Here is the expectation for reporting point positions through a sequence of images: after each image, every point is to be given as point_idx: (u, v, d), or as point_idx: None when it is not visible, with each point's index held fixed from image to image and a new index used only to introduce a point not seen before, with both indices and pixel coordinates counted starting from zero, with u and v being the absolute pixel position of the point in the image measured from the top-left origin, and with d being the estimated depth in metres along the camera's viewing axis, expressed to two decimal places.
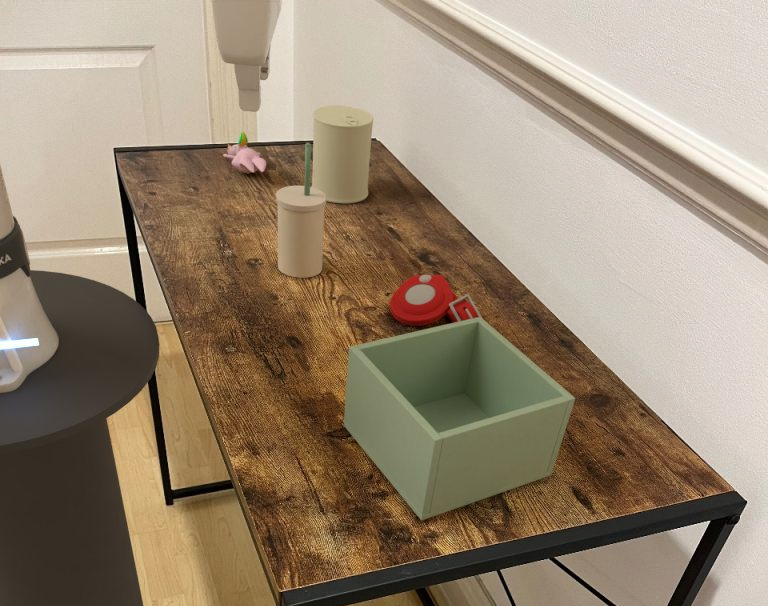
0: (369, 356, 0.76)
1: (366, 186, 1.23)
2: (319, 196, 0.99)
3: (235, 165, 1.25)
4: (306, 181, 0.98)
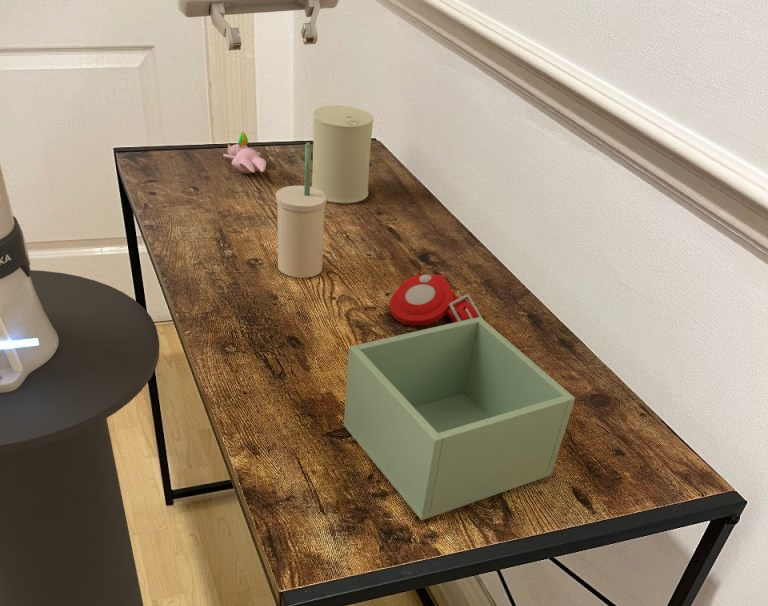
0: (369, 356, 0.76)
1: (366, 186, 1.23)
2: (319, 196, 0.99)
3: (235, 165, 1.25)
4: (306, 181, 0.98)
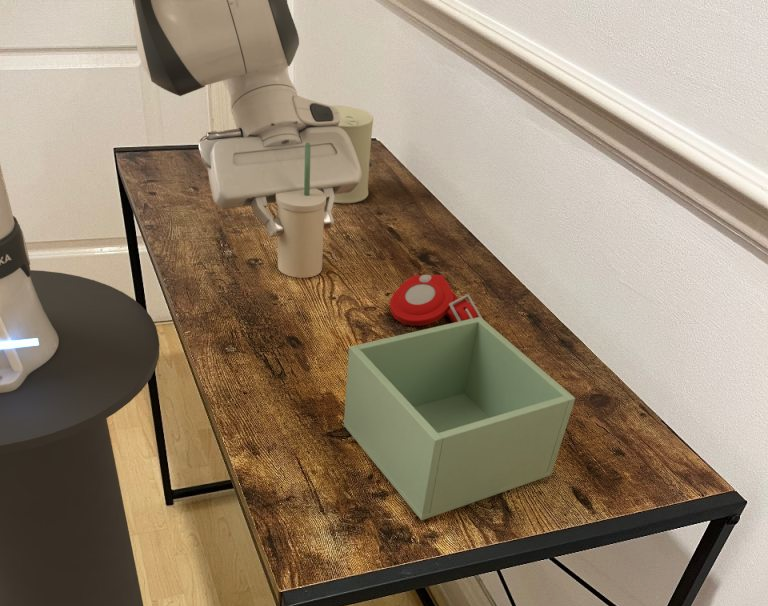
0: (369, 356, 0.76)
1: (366, 186, 1.23)
2: (319, 196, 0.99)
3: None
4: (305, 181, 0.98)
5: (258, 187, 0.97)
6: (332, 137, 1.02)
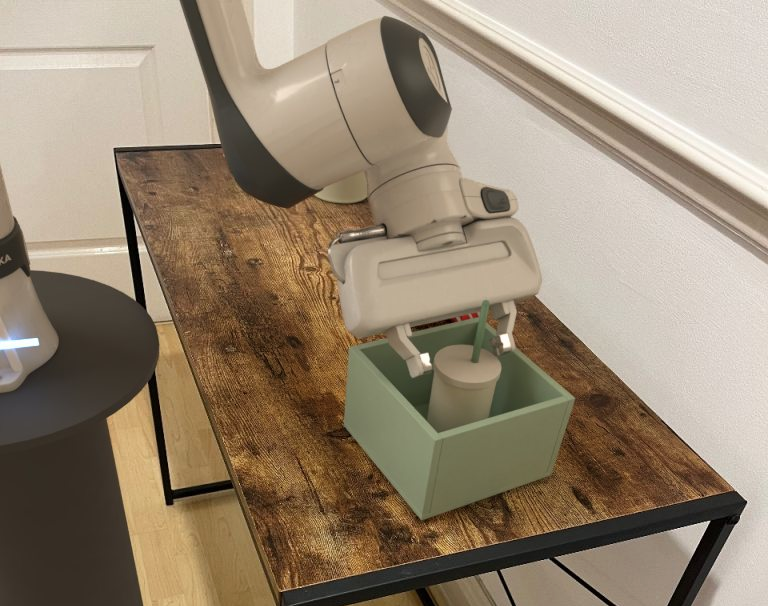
0: (369, 356, 0.76)
1: (366, 186, 1.23)
2: (491, 363, 0.74)
3: None
4: (476, 346, 0.72)
5: (411, 309, 0.68)
6: (505, 233, 0.73)
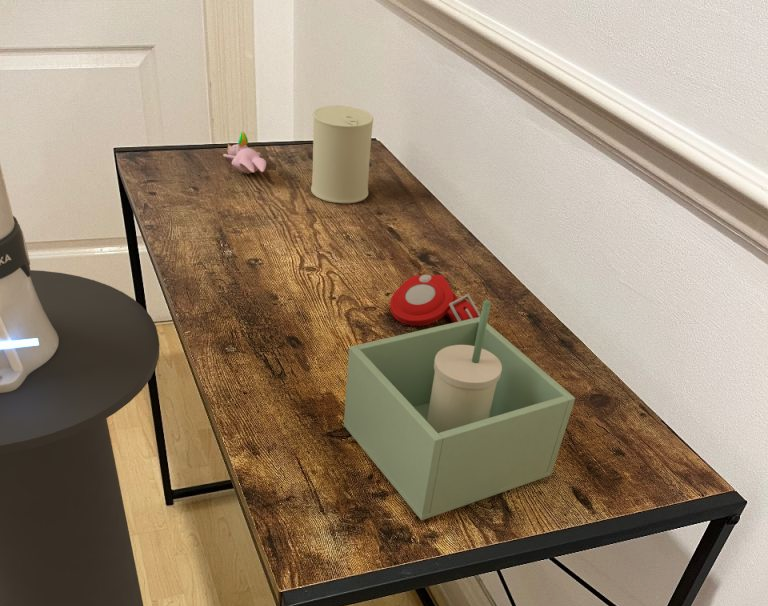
0: (369, 356, 0.76)
1: (366, 186, 1.23)
2: (492, 363, 0.74)
3: (235, 165, 1.25)
4: (477, 347, 0.72)
5: None
6: None
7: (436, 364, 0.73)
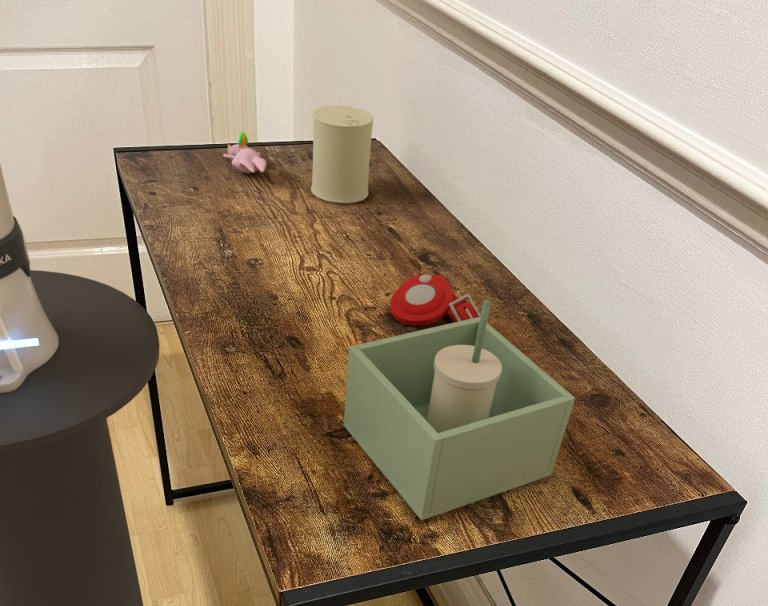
0: (369, 356, 0.76)
1: (366, 186, 1.23)
2: (492, 363, 0.74)
3: (235, 165, 1.25)
4: (477, 347, 0.72)
5: None
6: None
7: (436, 364, 0.73)
